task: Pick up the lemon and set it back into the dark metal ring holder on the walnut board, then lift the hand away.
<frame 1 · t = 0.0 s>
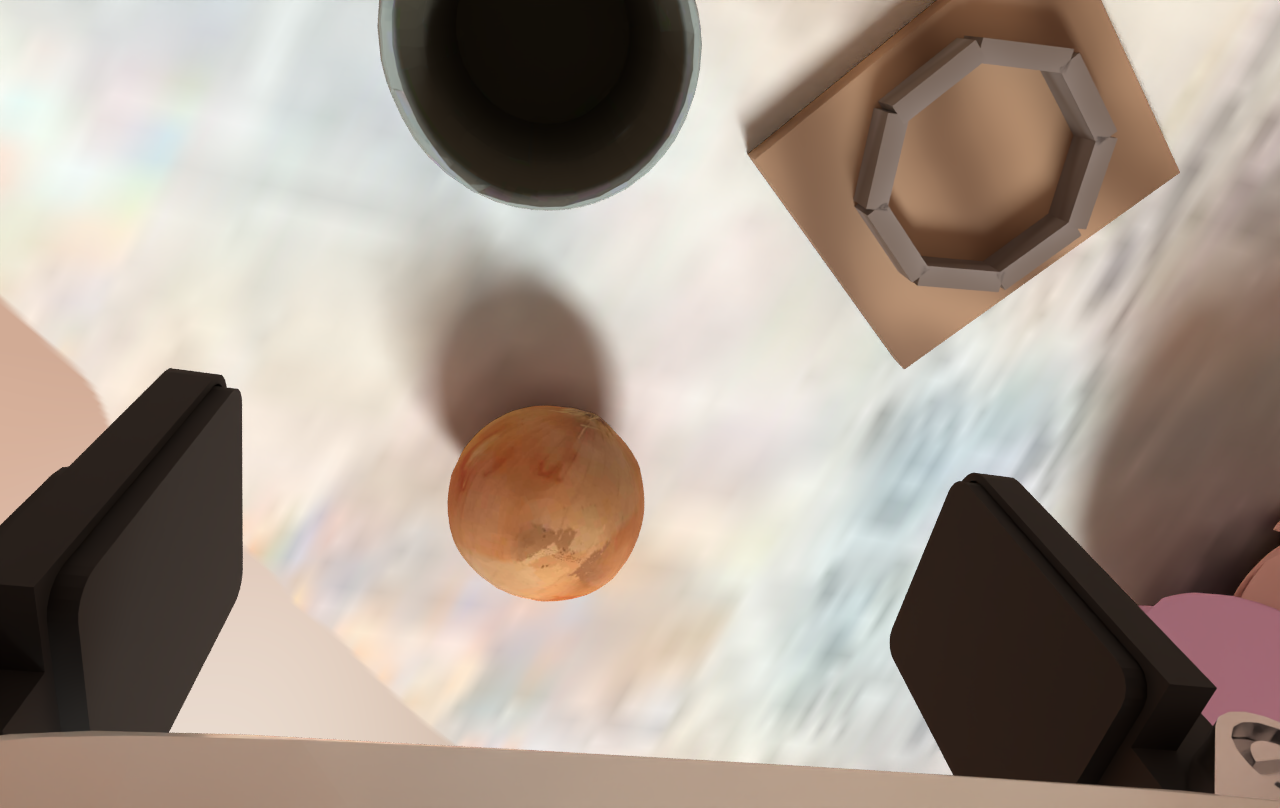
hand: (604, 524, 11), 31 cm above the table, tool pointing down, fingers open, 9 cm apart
grey cup: (544, 33, 37), on the table
holder: (959, 160, 41), on the table
onion: (546, 452, 46), on the table
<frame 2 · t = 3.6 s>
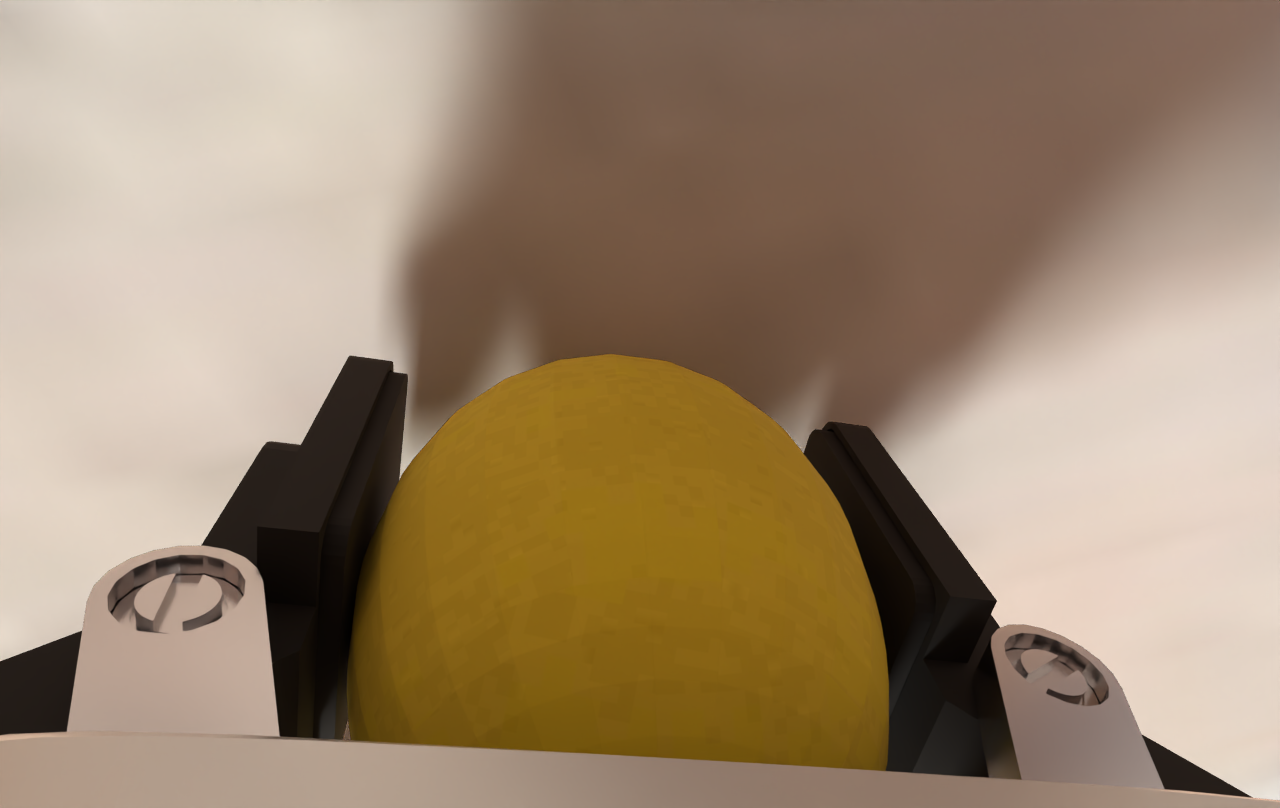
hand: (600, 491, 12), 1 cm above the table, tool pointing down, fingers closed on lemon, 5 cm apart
lemon: (594, 438, 13), on the table, touching gripper
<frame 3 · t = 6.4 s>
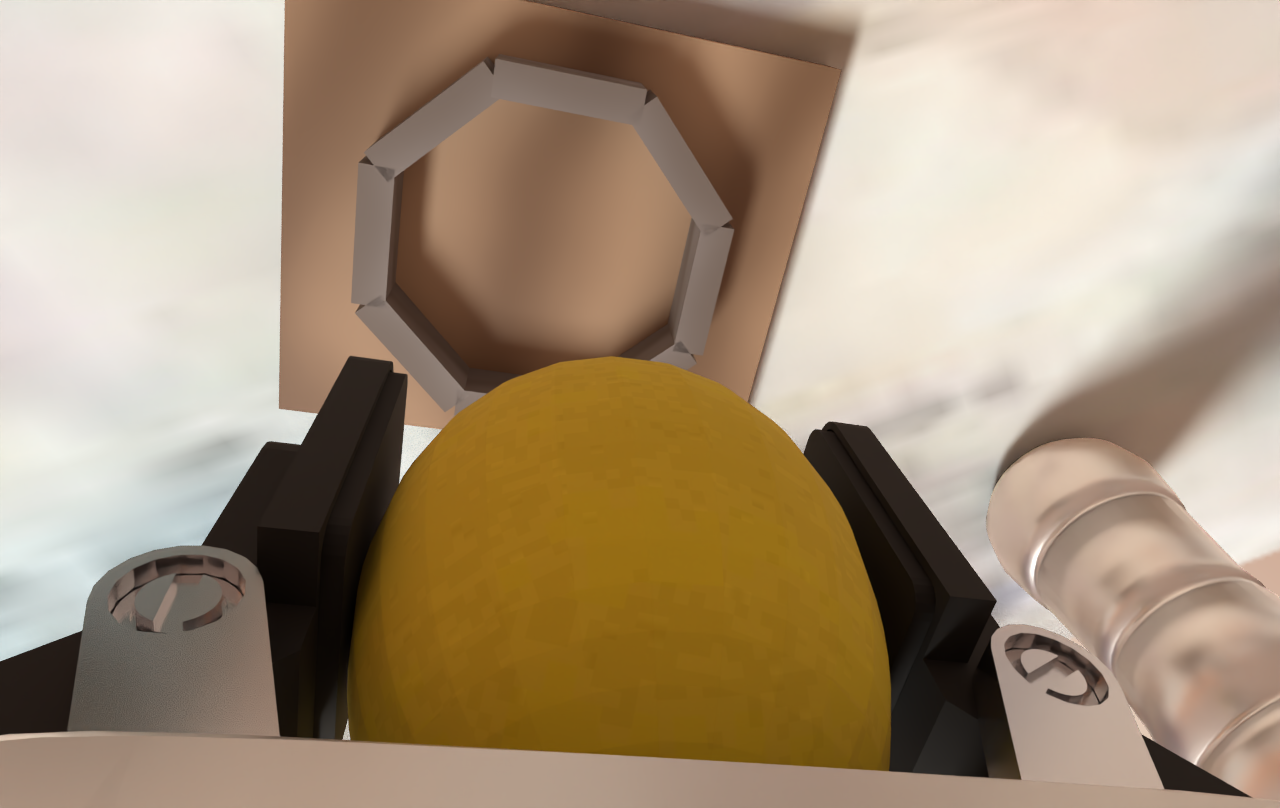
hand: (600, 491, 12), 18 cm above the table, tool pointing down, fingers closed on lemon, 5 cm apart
lemon: (595, 440, 13), point 16 cm above the table, touching gripper
holder: (543, 236, 28), on the table
plastic bottle: (1041, 485, 35), on the table
when the fingers open (5 cm above the table, at t = 9.5 s): lemon drops 2 cm, resting on holder.
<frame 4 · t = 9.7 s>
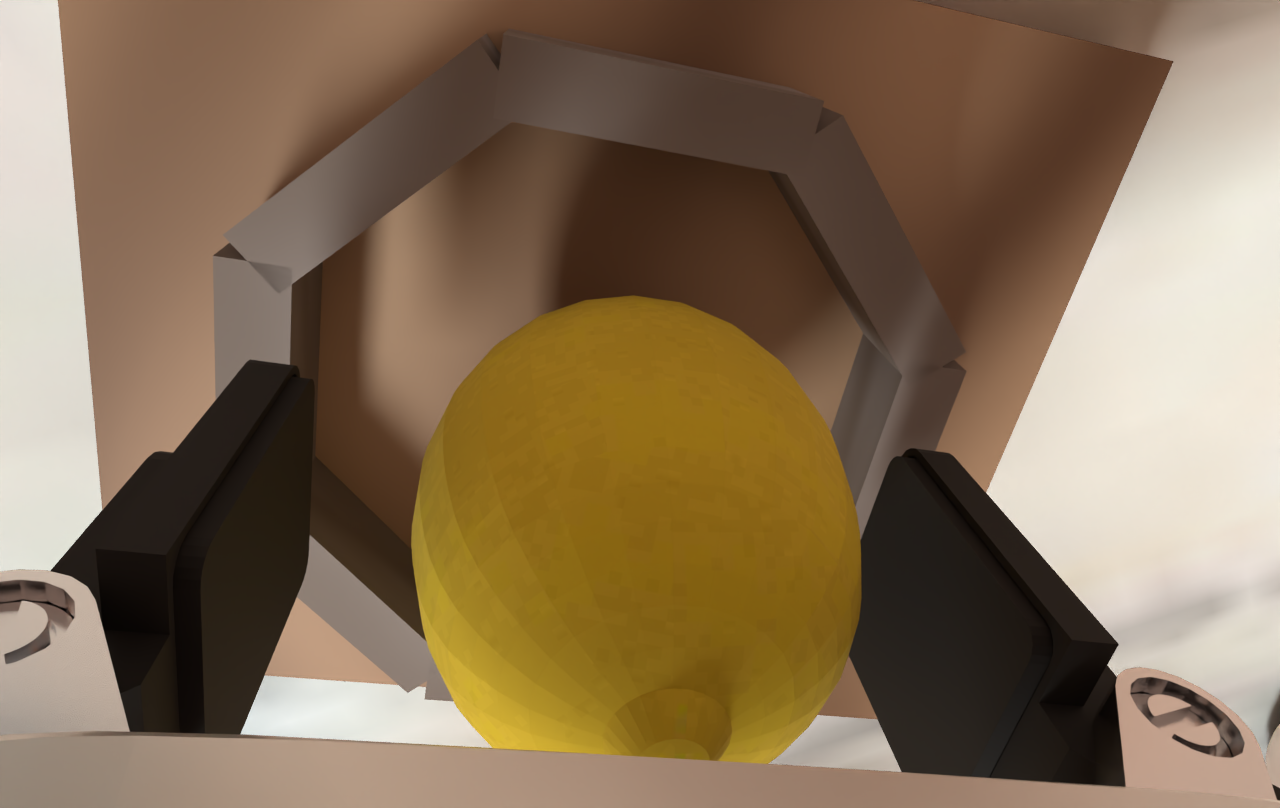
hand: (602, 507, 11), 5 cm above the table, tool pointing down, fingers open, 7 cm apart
lemon: (611, 384, 15), point 1 cm above the table, touching holder
holder: (585, 360, 16), on the table
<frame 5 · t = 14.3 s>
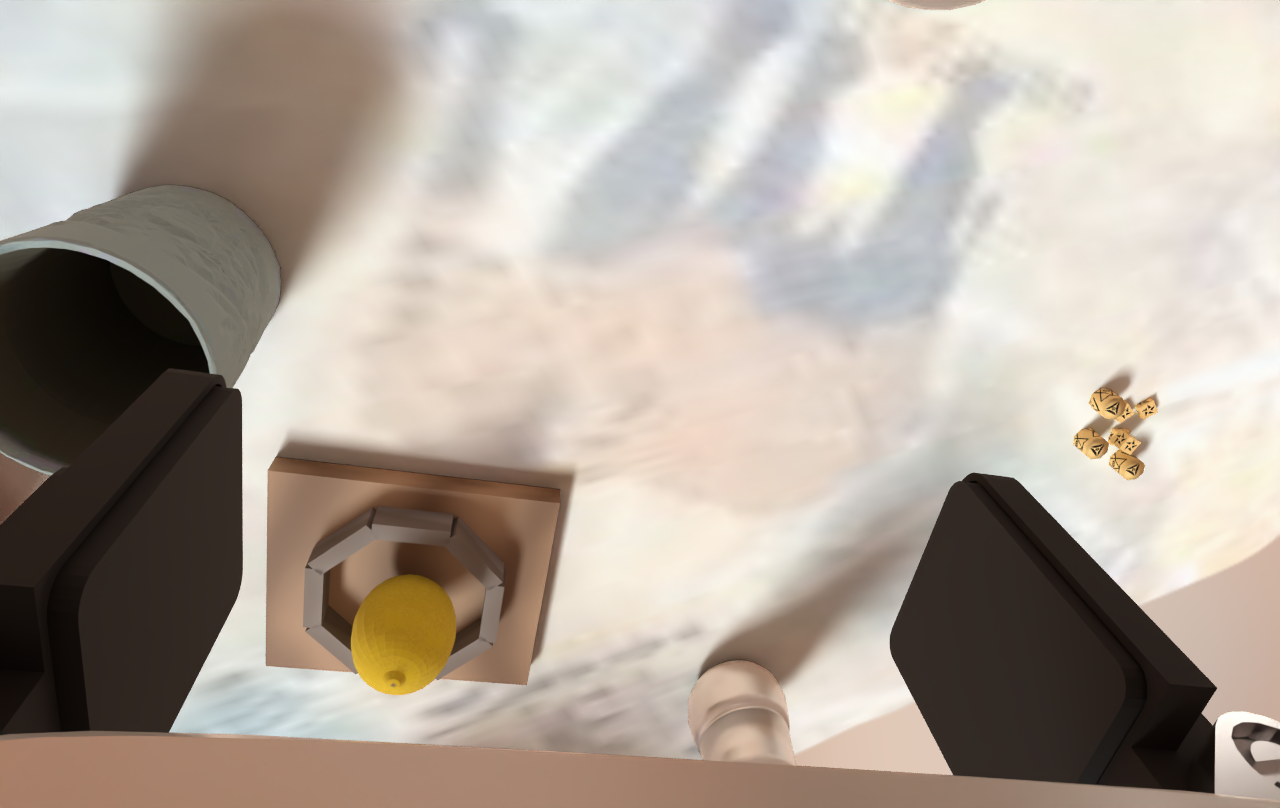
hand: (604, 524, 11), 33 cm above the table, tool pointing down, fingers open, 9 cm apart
lemon: (415, 583, 50), point 1 cm above the table, touching holder
grey cup: (196, 273, 42), on the table
holder: (412, 571, 51), on the table
dice set: (1100, 421, 52), on the table
plastic bottle: (728, 681, 58), on the table
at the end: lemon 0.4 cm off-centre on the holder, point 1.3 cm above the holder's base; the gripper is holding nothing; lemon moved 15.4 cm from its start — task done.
